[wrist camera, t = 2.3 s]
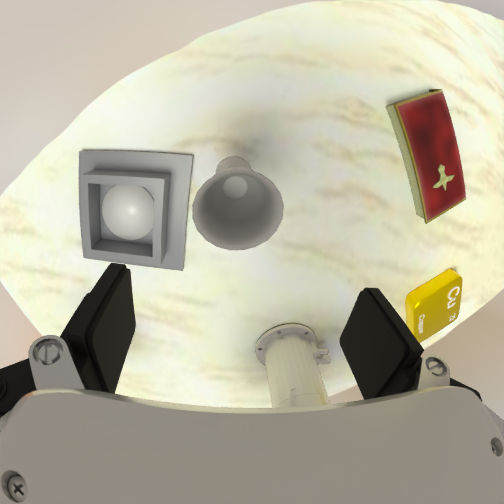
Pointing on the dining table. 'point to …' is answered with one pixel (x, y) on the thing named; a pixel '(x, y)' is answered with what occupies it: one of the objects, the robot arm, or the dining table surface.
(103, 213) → the housing
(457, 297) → the element tile
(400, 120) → the hardcover book
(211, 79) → the dining table surface
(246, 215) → the chalice
